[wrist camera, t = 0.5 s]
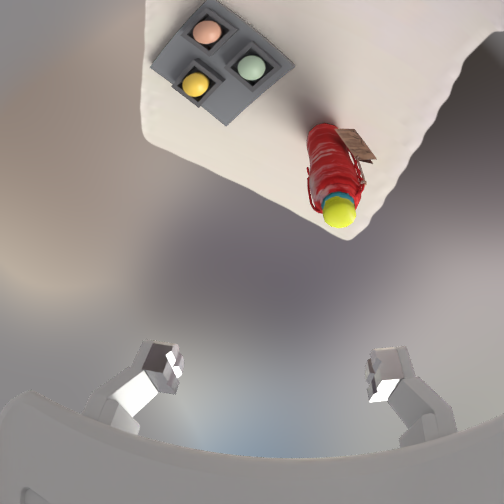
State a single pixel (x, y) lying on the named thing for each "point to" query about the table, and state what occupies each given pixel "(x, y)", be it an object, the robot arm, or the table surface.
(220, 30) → the terracotta button
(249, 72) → the sage button
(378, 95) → the table surface
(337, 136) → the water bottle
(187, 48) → the button panel
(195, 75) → the amber button
